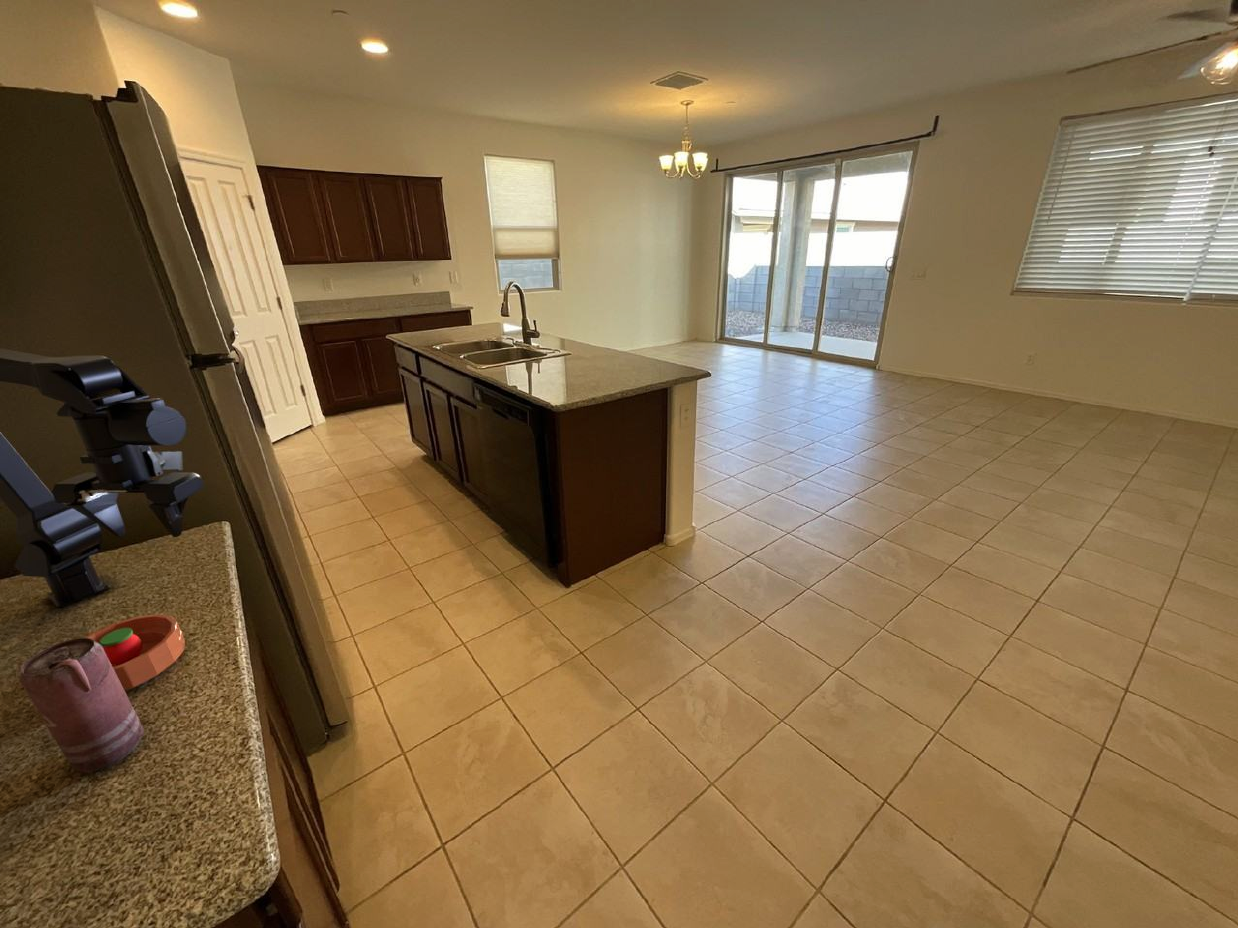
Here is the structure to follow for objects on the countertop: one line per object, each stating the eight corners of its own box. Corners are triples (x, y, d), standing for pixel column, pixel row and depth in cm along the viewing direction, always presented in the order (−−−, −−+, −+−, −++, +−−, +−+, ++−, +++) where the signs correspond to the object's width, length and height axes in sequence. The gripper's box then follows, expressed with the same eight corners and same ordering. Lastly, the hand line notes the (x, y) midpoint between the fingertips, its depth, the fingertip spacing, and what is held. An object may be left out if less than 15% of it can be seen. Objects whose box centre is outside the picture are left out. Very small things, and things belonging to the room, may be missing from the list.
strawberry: (105, 667, 69) (91, 639, 68) (142, 649, 72) (129, 622, 71) (115, 678, 67) (101, 650, 66) (153, 659, 70) (140, 632, 69)
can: (103, 779, 55) (46, 681, 49) (58, 769, 56) (-2, 672, 51) (160, 732, 60) (115, 638, 55) (118, 723, 61) (70, 631, 56)
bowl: (55, 678, 68) (41, 654, 67) (166, 626, 78) (156, 604, 76) (85, 717, 62) (70, 691, 61) (201, 656, 72) (191, 632, 70)
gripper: (215, 427, 82) (243, 512, 87) (104, 427, 82) (139, 512, 88) (154, 450, 71) (190, 546, 77) (28, 451, 72) (73, 545, 78)
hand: (149, 535), depth 80 cm, fingers open, 9 cm apart
